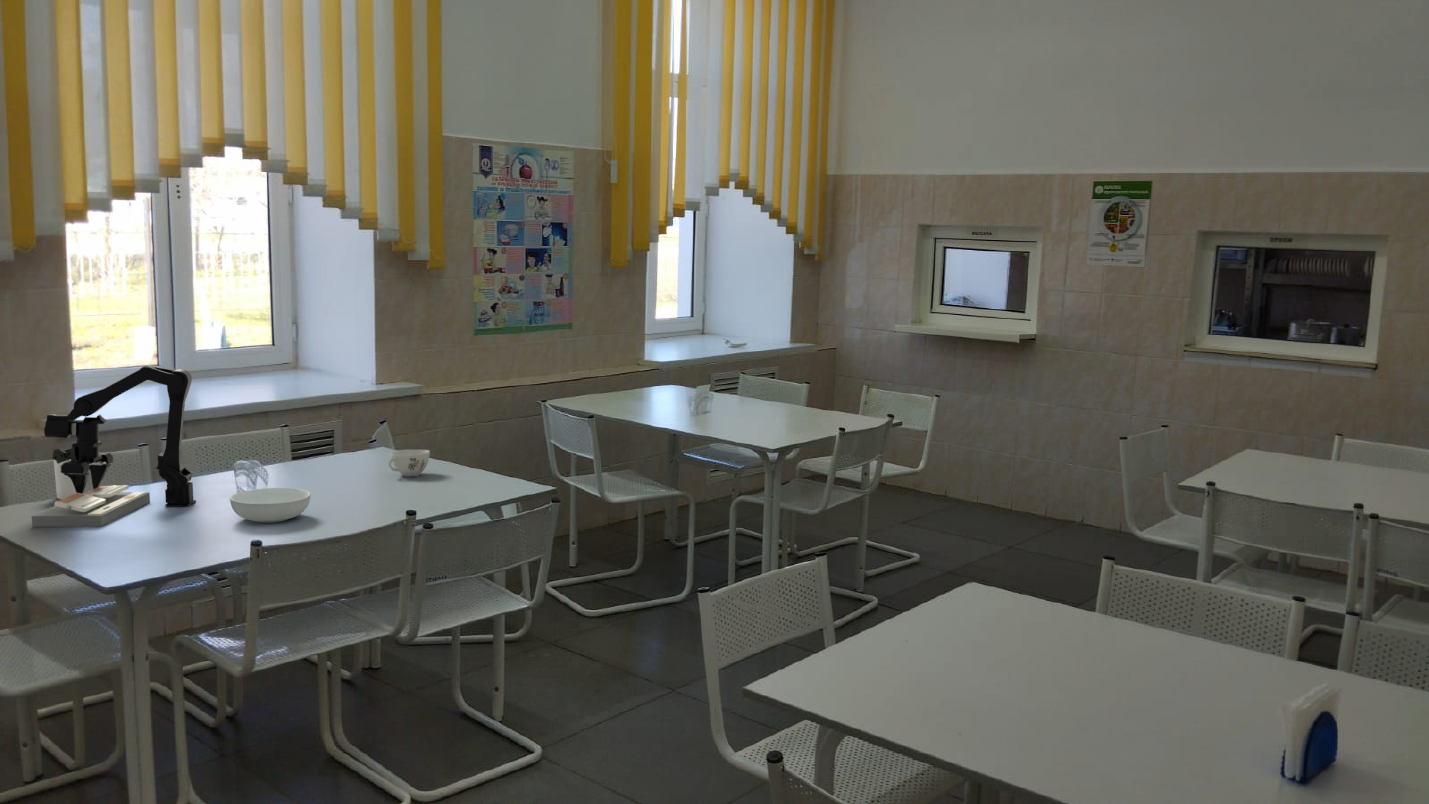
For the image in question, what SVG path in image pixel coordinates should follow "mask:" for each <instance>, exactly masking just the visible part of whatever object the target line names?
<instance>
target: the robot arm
mask: <svg viewBox="0 0 1429 804" xmlns="http://www.w3.org/2000/svg"><path fill="white" fill-rule="evenodd" d="M192 380H193V376H192V374H191V373H190V372H189V371H188V370H187V369H183V368H179V369H175V370H173V369H169V368H164V367H159V366H154V365H151V364H147V365H144V366H142V367H141V368H140V369H138V370H136V371H135V372H133V373H130V374H129V375H127V376H125V377H123V378H121V379H119V380H118V381H115V382H114V383H112V384H110V385H109V386H107V387H104V388H102V389H98V390H95V391H92V392H90V393H89V392H88V393H87V394H84V395H82V396H79V397H78V398H76V399H75V400H74V403H73V409H72V410H71V411H70V412H69V413H68V414H55V413H49V414H47V415H46V419H45V424H44V427H43V431H44V437H45V438H46V439H70V438H71V436H74V435H75V442H72V444H71V447H70V448H66V449H63V448H62V447H59V448H56V449H53V451H52V457H51V459H53V461H54V460H56V461H57V464H59V463H61V462H64V461H67V460H70V459H71V461H68V462H65V463H63V464H62V465H61V473H63V474H64V475H67V476H68V477H69V478H71V480H72V482H73V485H74V488H75V490H76V493H81V494H83V493H85V492H84V491H85V487H86V486H87V482H88V479H89V476H91V485H92V490H93V489H95V488H97V487H100V485H101V483H102V481H103V479H104V477H105V475H106V473H107V471H108V470H109V467H110V466H111V464H112V463H113V462H114V455H113V454H111V452H100V450H99V449H100V446H102V445H103V442H102V441H101V440H100V439H99V438H100V434H99V433H100V430H99V428H100V427H99V426H100V425H104V424H106V423H107V419H106V418H104V417H103V416H102V415H101V414H98V415H97V416H93V417H91V416H92V415H93V414H95V413H97V412H98V411H100V410H101V409H103V407H105V406H106V405H107V404H108V403H109V402H111V401H112V400H114V399H115V398H117V397H119V396H120V395H122V394H124V393H125V392H128V391H130V390H132V389H134V388H135V387H136V386H139V385H141V384H142V383H144V382H146V381H151V382H153V383H158V384H159V385H164V386H166V389H167V394H168V395H167V396H168V399H169V406H168V407H169V408H168V416H167V417H168V419H167V429H166V441H165V450H164V452H163V451H162V452H160V453H159V454H158V455H157V466H156V468H155V469H156V470H158V475H159V476H160V478H161V479H162V480H165V482H166V488H165V489H164V490H165V503H166V504H164V505H165V507H189V506H191V505H192V504H194V503H196V502H197V500H196V499H194V485H193V484H194V482H193V481H192V482H190V481H191V479H192V477H193V472H191V471H190V470H188V469H187V468H186V467H185V462H184V456H183V451H182V440H183V428H184V419H185V418H184V417H185V406H186V399H187V398H188V395H189V391H190V387H191V385H192ZM80 417H84V419H79V418H80ZM89 471H90V472H89Z"/></svg>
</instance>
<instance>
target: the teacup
mask: <svg viewBox="0 0 1429 804" xmlns="http://www.w3.org/2000/svg"><path fill="white" fill-rule="evenodd" d="M390 454H391V455H390V456H391V458H390V459H389V460H388V467H389V469H390V470H391V471H395V472H399V473H400V474H401V475H402V476H403V477H409V478H410V477H418V476H421V474H422V473H423V472H424V470H425V469H426V468H427V466H428V464H429V462H430V461H429V460H430V455H431V451H430V450H429V449H401V450H399V449H398V450H396V451H391V453H390ZM392 463H393V466H394V467H393V466H392Z"/></svg>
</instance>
